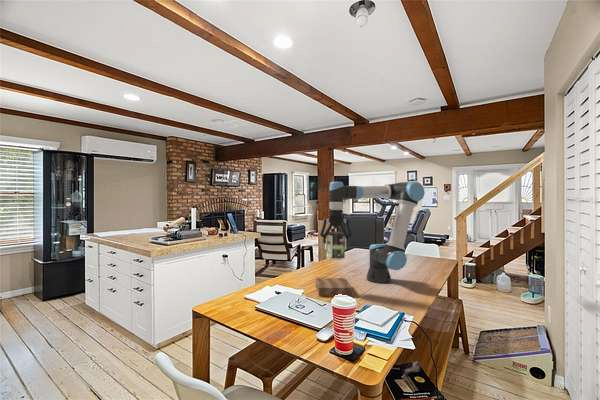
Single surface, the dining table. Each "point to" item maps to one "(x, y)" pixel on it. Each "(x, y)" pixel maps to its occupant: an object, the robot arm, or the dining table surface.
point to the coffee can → (335, 245)
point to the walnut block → (333, 286)
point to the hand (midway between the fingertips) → (335, 249)
